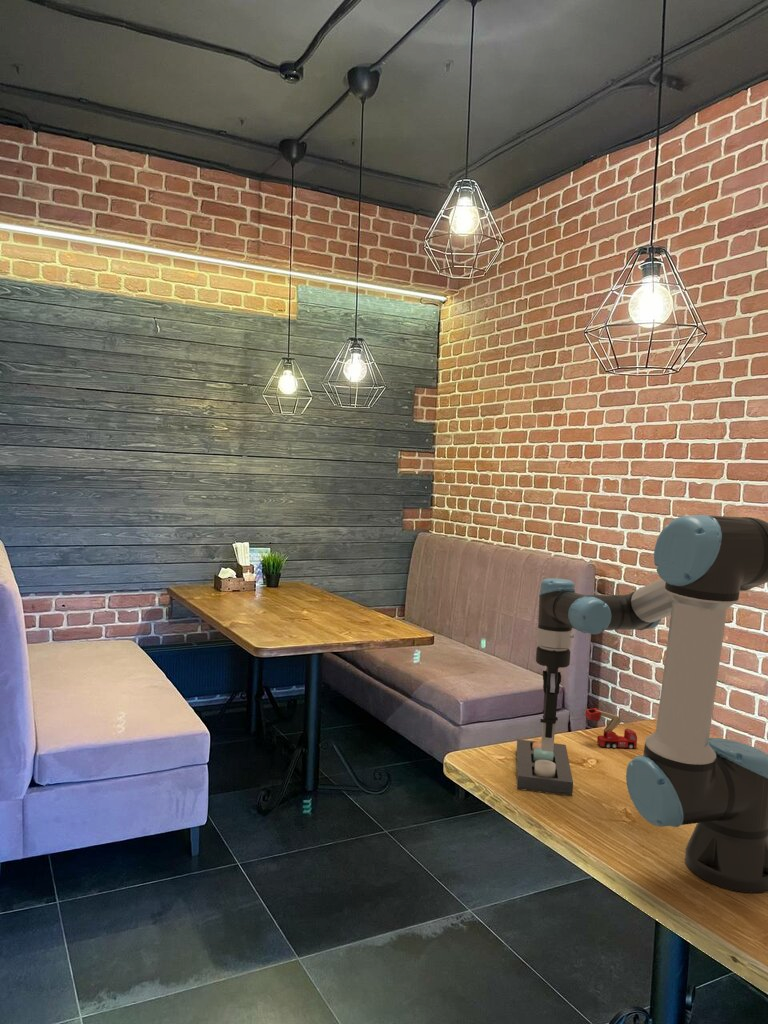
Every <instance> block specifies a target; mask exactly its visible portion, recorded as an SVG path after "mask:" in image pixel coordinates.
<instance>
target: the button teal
mask: <svg viewBox="0 0 768 1024" xmlns="http://www.w3.org/2000/svg"><path fill="white" fill-rule="evenodd" d="M553 756H554V752H551V751H542V750H541V748H535V749H534V757H533V763H535V761H537V760H548V761H551V762H553Z"/></svg>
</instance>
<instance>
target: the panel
mask: <svg viewBox="0 0 768 1024" xmlns="http://www.w3.org/2000/svg"><path fill="white" fill-rule="evenodd" d="M534 742H538V741H535V740H529V739H528V740H526V739H520V738H519V739H518V738H517V739H516V750H515V751H516V789H517V790H521V789H526V790H525V791H529V790H534V791H533V792H537V791H541V792H540V793H545V792H548V794H553V793H555V795H563V796H570V797H573V793H574V792H573V791H574V790H573V789H574V779H573V774H572V770H571V764H570V760H569V754H568V749H567V744H562V743H555V742H554V751H553V752H554V756H553V762H554V763H555V764H556V768H555V778H549V777H540V776H534V769H535V763H533V757H534V751H533V750H532V746H533V743H534Z"/></svg>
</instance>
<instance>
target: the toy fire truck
mask: <svg viewBox="0 0 768 1024" xmlns="http://www.w3.org/2000/svg"><path fill="white" fill-rule="evenodd" d="M585 717H586V718H587V719H588V721H595V722H596V721H597V722H599V721H600V719H601V717H604V718H606V719H611V720H610V721H609V722H608V724H607V725H606V726H605V728H604V729H603V735H597V737H596V739H597V740H596V741H597V744H598V745H599V746H600V747H603V748H604V747H605V748H606V749H610V748H612V749H617V747H618V748H627V749H630V750H632V749H636V748H637V745H638V734H637V733H636V732H635V731H634V730H632V729H631V728H630V729H629V728H625V729H624V733H623V735H622V736H621V735H620V736H619V735H618V734H617V733H616V732H615V731H614V730H615V728H617V727H618V726H619V725H620V724H621V723H622V722H623V720H622V719H621V718H620V717H619V716H618V715H617V714H612V713H609V712H606V711H602V710H599V709H598V708H597V707H594V708H589V709H586V710H585Z"/></svg>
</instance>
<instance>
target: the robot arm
mask: <svg viewBox="0 0 768 1024" xmlns="http://www.w3.org/2000/svg"><path fill="white" fill-rule="evenodd" d="M653 563H654V565H655V566H656V572H657V573H656V574H657V575H658V576H659V577H660V578H659V579H656V580H654V581H652V582H650V583H648V584H646V585H645V586H642V587H640V588H638V589H637V590H634V591H632V592H629V593H627V594H581V593H577V592H576V589H575V583H574V581H573V580H570V579H567V578H566V579H564V578H555V577H554V578H553V577H552V578H551V577H550V578H549V577H548V578H544V579H542V581H541V582H540V591H539V595H538V597H539V598H538V599H539V601H538V620H537V624H538V626H537V633H536V644H537V647H536V651H535V652H536V654H535V662H536V664H538V665H540V666H543V667H546V668H545V669H546V670H542V683H543V685H542V688H543V693H544V694H543V710H542V714H543V715H542V718H540V720H539V721H540V723H542V725H541V726H542V727H541V741H540V742H541V750H542V751H551V752H553V751H554V743H555V733H556V732H555V731H556V723H557V721H558V719H559V718H558V716H557V709H558V708H557V707H558V696H559V694H560V684H561V683H562V673H561V671H559V669H560V668H568V667H569V666H570V664H571V650H570V647H571V645H572V640H571V639H574V638H575V634H574V633H572V630H576V631H578V632H581V633H583V634H591V635H598V634H599V635H600V634H601V633H603V632H604V631H615V630H616V631H617V630H619V631H620V630H624V631H625V630H627V631H628V630H631V631H632V630H636V631H643V630H650V629H654V628H656V627H657V626H658V625H659V624H660V622H661V621H662V620H663V619H664V618H667V617H670V621H669V627H668V635H667V644H666V651H665V657H664V658H665V659H664V666H663V672H662V673H663V674H662V680H661V689H660V695H659V696H660V697H659V705H658V712H657V720H656V726H655V727H656V728H655V731H654V732H653V733H651V734H649V735H648V736H647V737H646V738H645V740H644V747H643V755H638V756H635V757H634V758H633V759H632V760H629V762H628V765H627V768H626V775H625V777H626V778H625V781H626V786H627V790H628V795H629V796H630V799H631V801H632V804H633V805H634V808H635V809H636V810H637V812H638V813H639V815H640V817H642V818H643V819H644V820H645V821H646V822H648V823H650V824H651V825H654V826H655V827H660V828H661V827H664V828H665V827H673V828H679V827H680V826H686V825H692V824H696V825H695V827H694V830H693V832H692V833H691V836H690V838H689V840H688V842H687V844H686V847H685V853H684V856H685V857H684V862H685V864H686V866H687V869H689V870H690V871H691V872H692V873H694V874H695V875H696V876H697V877H699V878H701V879H702V880H703V881H706V882H708V883H711V884H712V885H715V886H717V887H720V888H723V889H726V890H727V889H728V890H731V891H735V892H740V893H748V894H749V893H751V894H753V893H766V892H768V753H766V752H765V751H763V750H761V749H759V748H756V747H755V746H752V745H749V744H746V743H743V742H739V741H735V740H732V739H727V738H722V737H720V738H719V737H710V734H711V727H712V721H713V719H712V718H713V713H714V707H715V706H714V705H715V700H716V699H715V697H716V690H717V683H718V676H719V670H720V662H721V654H722V649H723V648H722V647H723V639H724V634H725V625H726V618H727V610H728V609H729V608H730V607H732V606H734V604H737V603H738V602H739V597H740V593H741V592H746V591H749V590H751V589H754V588H756V587H759V586H762V585H765V584H767V583H768V521H765V520H763V519H760V518H755V517H751V516H748V517H747V516H741V517H740V516H727V515H726V516H724V515H709V514H708V515H707V514H697V515H683V516H679V517H677V518H674V519H673V520H671V521H670V522H669V523H668V524H666V525H665V526H664V527H663V529H662V530H661V531H660V533H659V535H658V537H657V538H656V542H655V546H654V551H653Z"/></svg>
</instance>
